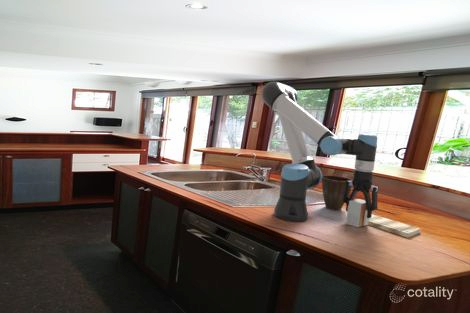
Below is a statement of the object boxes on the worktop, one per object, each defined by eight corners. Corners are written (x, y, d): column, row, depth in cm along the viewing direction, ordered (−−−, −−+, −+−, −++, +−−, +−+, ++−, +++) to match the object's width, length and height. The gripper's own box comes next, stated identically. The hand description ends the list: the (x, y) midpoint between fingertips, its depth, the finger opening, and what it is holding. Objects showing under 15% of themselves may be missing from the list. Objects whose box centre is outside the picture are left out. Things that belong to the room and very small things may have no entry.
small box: (358, 228, 121) (361, 203, 120) (346, 223, 125) (348, 200, 124) (367, 224, 126) (370, 201, 125) (355, 221, 130) (358, 198, 129)
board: (355, 220, 131) (356, 216, 131) (368, 217, 138) (369, 213, 138) (407, 237, 114) (408, 233, 113) (419, 232, 121) (420, 228, 121)
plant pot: (354, 210, 148) (357, 179, 147) (339, 214, 138) (343, 182, 137) (327, 203, 159) (331, 174, 157) (312, 206, 149) (316, 176, 147)
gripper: (337, 166, 129) (332, 216, 131) (383, 175, 113) (375, 231, 115) (347, 166, 133) (341, 214, 136) (392, 174, 118) (384, 228, 120)
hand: (357, 221), depth 126 cm, fingers open, 7 cm apart
